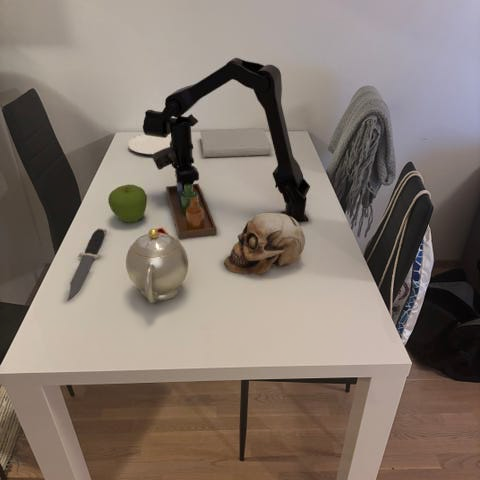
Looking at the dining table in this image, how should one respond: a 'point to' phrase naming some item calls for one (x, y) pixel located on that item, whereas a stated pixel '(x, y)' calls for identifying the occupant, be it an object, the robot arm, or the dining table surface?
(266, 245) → the skull
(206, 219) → the tray
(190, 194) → the green bottle
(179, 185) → the blue bottle
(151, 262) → the teapot
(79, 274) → the knife
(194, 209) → the amber bottle
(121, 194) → the apple
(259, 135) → the book
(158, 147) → the plate
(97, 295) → the dining table surface
